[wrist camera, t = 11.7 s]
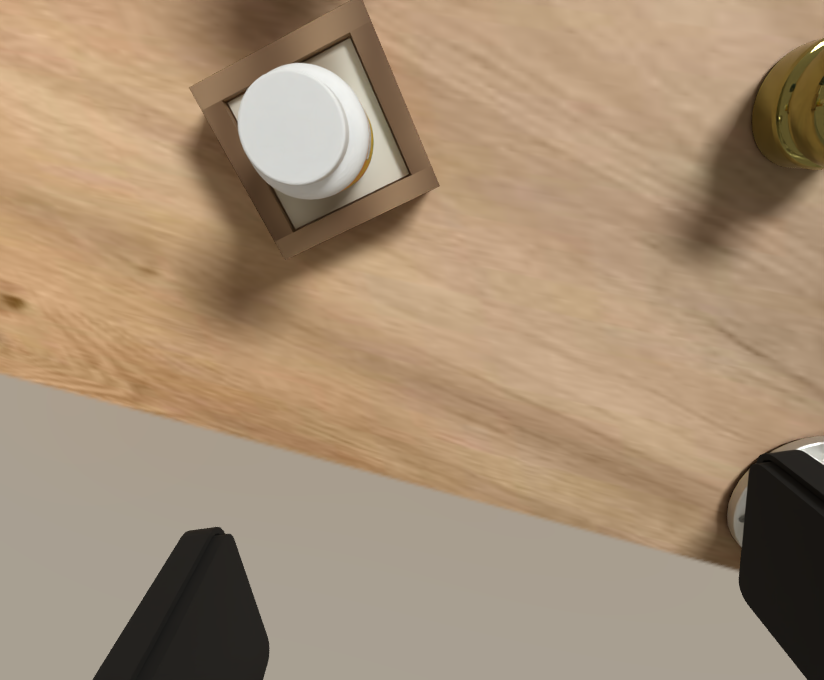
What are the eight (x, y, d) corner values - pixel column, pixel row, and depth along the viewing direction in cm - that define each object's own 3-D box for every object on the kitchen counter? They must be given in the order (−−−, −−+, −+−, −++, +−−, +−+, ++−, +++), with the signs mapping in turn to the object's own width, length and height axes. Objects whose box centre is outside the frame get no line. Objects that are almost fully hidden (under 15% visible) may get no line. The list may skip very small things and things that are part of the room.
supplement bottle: (286, 196, 28) (233, 211, 18) (269, 92, 26) (200, 52, 17) (379, 187, 28) (372, 199, 18) (368, 83, 26) (355, 38, 17)
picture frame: (364, 17, 27) (360, -5, 24) (434, 183, 31) (439, 185, 27) (214, 97, 28) (188, 87, 25) (297, 249, 32) (285, 260, 28)
